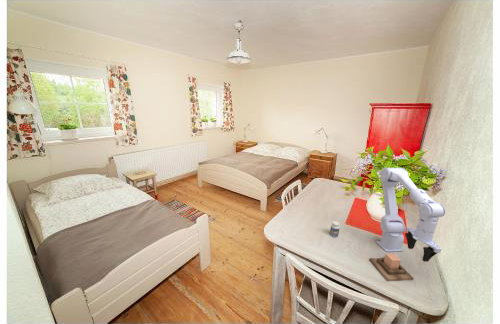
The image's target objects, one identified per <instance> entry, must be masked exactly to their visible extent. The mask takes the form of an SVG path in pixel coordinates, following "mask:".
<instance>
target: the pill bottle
mask: <svg viewBox="0 0 500 324" xmlns="http://www.w3.org/2000/svg"><path fill="white" fill-rule="evenodd" d="M340 226H341V225H340V222H339V221H336V220H333V221H332V223H331V225H330V230H329V235H330V237H333V238H339V233H340V228H341V227H340Z"/></svg>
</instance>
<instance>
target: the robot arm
mask: <svg viewBox="0 0 500 324" xmlns="http://www.w3.org/2000/svg"><path fill="white" fill-rule="evenodd" d="M379 172H380V181H381V183H382V184H381V186H382V194H383V203H384V205H383V206H384V212H385V215H383V216H382V217H381V218H380V225H379V226H380V229H381V231H382V233H381V237H380V238H381V239H380V240H376V241H375V242H376V243H377V244H378V246H380V247H381V248H382V249H383V250H384V251H385V252H388V253H390V252H403V251H404V250H403V249H402V248H403V245H404V242H405V241H404V240H405V239H406V243H407V249H408V250H413V249H415V246H416V244H417V241H419V242H421V243H423V244H424V245H426V246H424V247H422V249H423V256H422V261H423V262H429V261H430V260H431V259H432V258H433V257H434V256H435V255H437V254H441V252H442V248H441V247H440V246H439V245H438V244H437V243H436V242H435V241H434V240H433V238H434V234H435V232H436V229H437V225H438V223H439V220H440V218H442V217H444V216H445V215H446V209H445V207H444V206H443V204H442V203H440V202H437V201H435V200H433V198H432V197H430V196H429V195H428V193H427V191H426V190H424V189H422V188H419V187H417V185H416V184H415V183H414V182H413V180H412V179H411V178H410V177H409V173H408V171H407V170H406V169H405V167H383V168H382V170H381V171H379ZM399 183H400V184H401V185H402V186H403V187H404V188H405V190H407V191H408V192H409V197H410V199H411V200H412V201H413V203H414V204H416V205H417V207H418V208H417V209H418V213H419V214H418V221H417V226H416V227H415V229H414V228H413V227H408V226H407V227H406V225H405V223H404V219H403V218H402V217H400V216H399V214H398V213H399V211H398V206H397V197H396V190H395V186H396V185H397V184H399ZM404 235H405V236H404ZM404 237H405V238H404Z"/></svg>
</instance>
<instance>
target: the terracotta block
mask: <svg viewBox="0 0 500 324" xmlns="http://www.w3.org/2000/svg"><path fill="white" fill-rule="evenodd" d="M384 258H385V259H384V264H385V265H386V267H387V268H388V269H389V270H398V268H399V264H400V265H401V261H402V260H401V259H400V258H399V256H397V255H396V254H395V253H385V256H384Z"/></svg>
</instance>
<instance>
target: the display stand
mask: <svg viewBox="0 0 500 324" xmlns="http://www.w3.org/2000/svg"><path fill="white" fill-rule="evenodd" d="M384 259H385V257H370V258H369V260H368V261H369V262H370V263H371V264H372V265H373V266H374V268H375V269H376V270H377V271H378V272H379V274H380V275H381V276H382V277H383V278H384V279H385V280H386V281H387V282H398V281H399V282H403V281H414V276H412V275H411V274H410V273H409V272H408V271H407V270H406V269H405V268H404V267H403V266H402V265H401V263H400V264H399V268H398V270H389V269H388V268H387V267H386V265H385V264H384Z"/></svg>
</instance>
